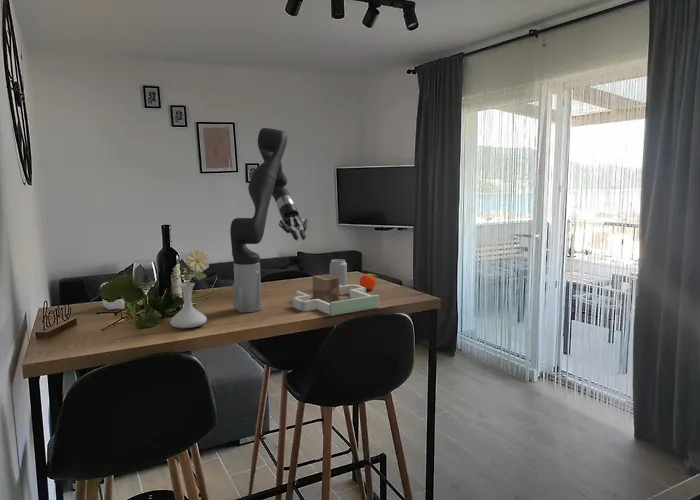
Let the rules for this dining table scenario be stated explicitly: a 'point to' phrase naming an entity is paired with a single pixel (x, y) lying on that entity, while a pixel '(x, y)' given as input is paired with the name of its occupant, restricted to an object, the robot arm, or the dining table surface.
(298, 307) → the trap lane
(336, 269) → the can
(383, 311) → the dining table surface
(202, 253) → the flower in vase
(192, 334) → the dining table surface
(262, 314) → the dining table surface
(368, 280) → the clementine
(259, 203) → the robot arm
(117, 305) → the duck figurine
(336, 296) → the brown rectangular block
